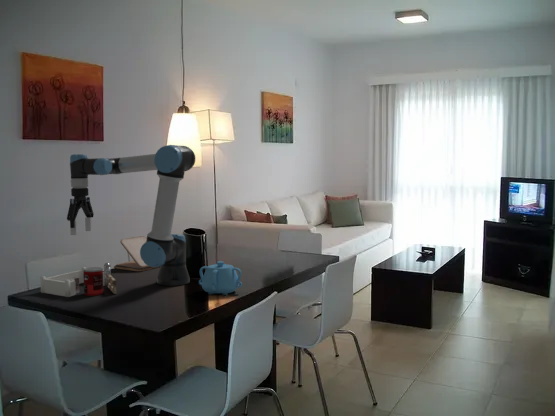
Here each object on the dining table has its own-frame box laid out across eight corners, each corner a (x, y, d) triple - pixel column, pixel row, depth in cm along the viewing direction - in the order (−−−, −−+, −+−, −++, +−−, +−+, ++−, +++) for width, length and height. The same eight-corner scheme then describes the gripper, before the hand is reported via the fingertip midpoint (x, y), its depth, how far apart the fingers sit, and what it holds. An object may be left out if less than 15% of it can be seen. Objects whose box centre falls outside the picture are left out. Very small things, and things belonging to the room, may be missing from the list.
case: (140, 272, 284) (140, 241, 282) (111, 268, 294) (110, 238, 293) (167, 266, 301) (166, 237, 300) (138, 262, 312) (138, 234, 310)
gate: (107, 286, 250) (107, 274, 250) (110, 286, 251) (109, 274, 250) (113, 293, 237) (113, 280, 236) (116, 293, 238) (116, 280, 237)
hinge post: (112, 285, 254) (111, 262, 253) (107, 286, 251) (107, 263, 250) (107, 284, 255) (107, 261, 254) (102, 286, 253) (102, 263, 252)
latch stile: (79, 292, 240) (78, 277, 240) (75, 293, 238) (74, 278, 238) (76, 291, 241) (75, 277, 241) (71, 293, 239) (71, 278, 239)
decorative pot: (231, 286, 253) (231, 257, 252) (244, 294, 238) (244, 263, 237) (197, 290, 246) (196, 260, 245) (208, 298, 231) (208, 266, 230)
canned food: (86, 291, 242) (85, 267, 241) (105, 291, 242) (104, 266, 241) (81, 296, 234) (81, 270, 233) (101, 295, 235) (100, 270, 234)
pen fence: (110, 285, 254) (110, 270, 253) (67, 297, 232) (66, 280, 231) (84, 281, 262) (83, 267, 261) (39, 292, 240) (39, 276, 239)
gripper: (85, 186, 269) (87, 229, 271) (57, 188, 245) (59, 236, 247) (100, 186, 268) (101, 229, 270) (73, 188, 244) (74, 236, 245)
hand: (81, 233), depth 258 cm, fingers open, 13 cm apart
